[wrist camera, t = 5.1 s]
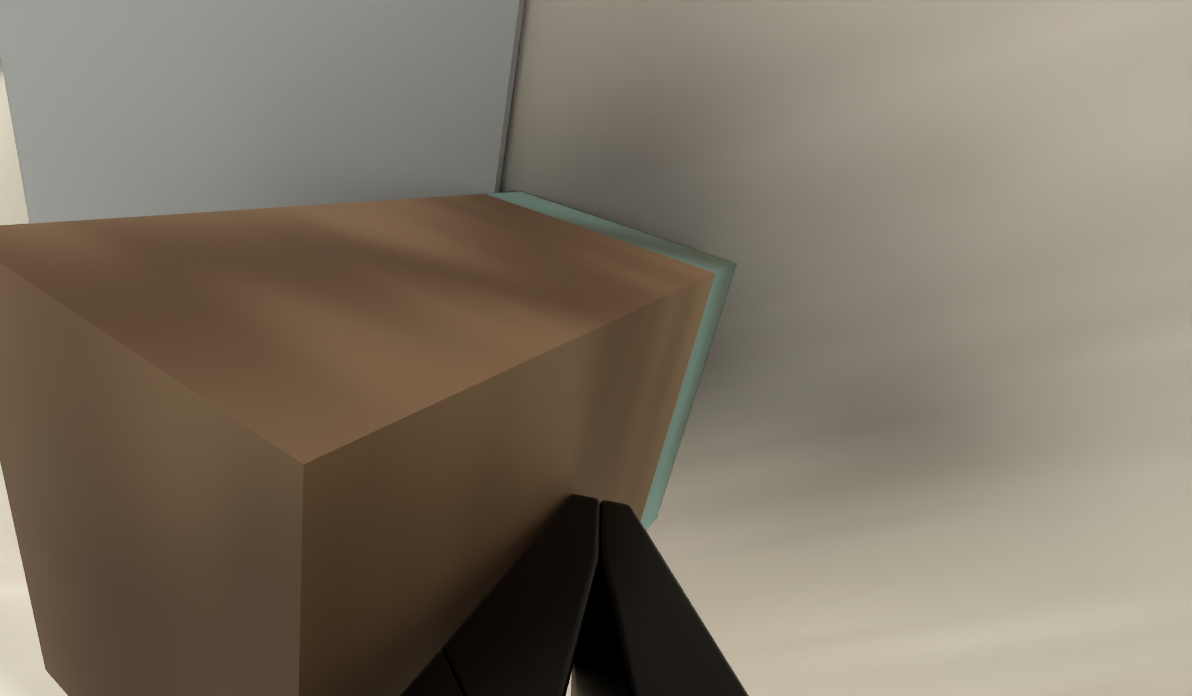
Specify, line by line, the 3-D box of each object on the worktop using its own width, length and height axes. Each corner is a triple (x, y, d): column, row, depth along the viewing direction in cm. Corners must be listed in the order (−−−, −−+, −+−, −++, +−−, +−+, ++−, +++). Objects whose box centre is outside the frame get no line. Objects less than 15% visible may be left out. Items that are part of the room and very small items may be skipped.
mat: (528, -24, 12) (523, -30, 11) (451, 543, 17) (446, 558, 17) (-4, -143, 11) (-37, -155, 11) (94, 475, 17) (75, 487, 16)
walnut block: (736, 263, 11) (302, 463, 4) (656, 517, 14) (292, 953, 6) (520, 191, 13) (-51, 229, 6) (483, 425, 16) (46, 669, 8)
